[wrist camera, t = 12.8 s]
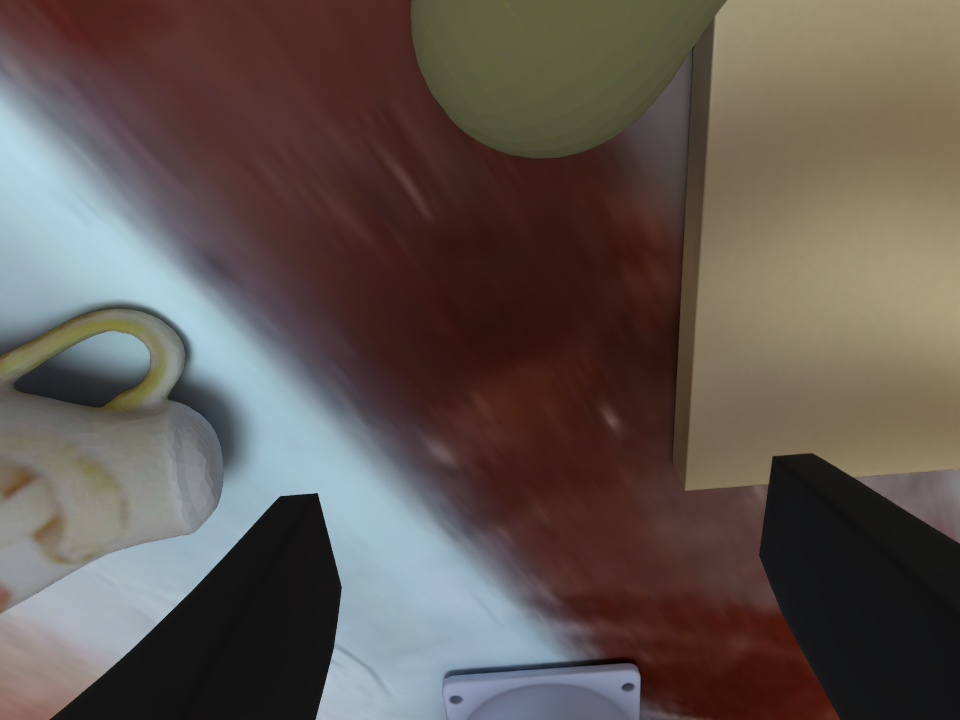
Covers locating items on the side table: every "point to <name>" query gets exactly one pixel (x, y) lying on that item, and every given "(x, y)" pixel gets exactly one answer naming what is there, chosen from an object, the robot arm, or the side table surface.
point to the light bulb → (552, 66)
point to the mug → (98, 461)
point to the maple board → (821, 241)
